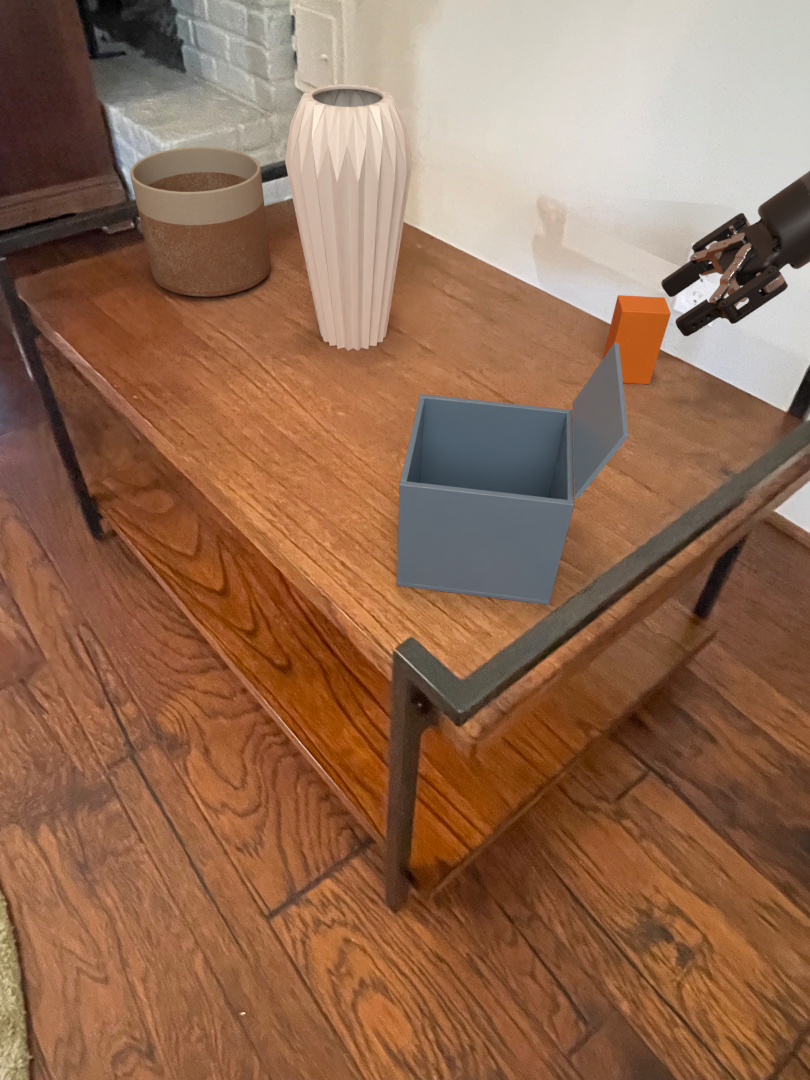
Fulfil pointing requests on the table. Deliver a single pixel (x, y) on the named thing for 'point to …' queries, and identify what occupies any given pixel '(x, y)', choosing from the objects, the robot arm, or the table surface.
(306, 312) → the table surface
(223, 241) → the planter
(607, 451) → the gray box lid
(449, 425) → the blue box
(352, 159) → the vase
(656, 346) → the block
